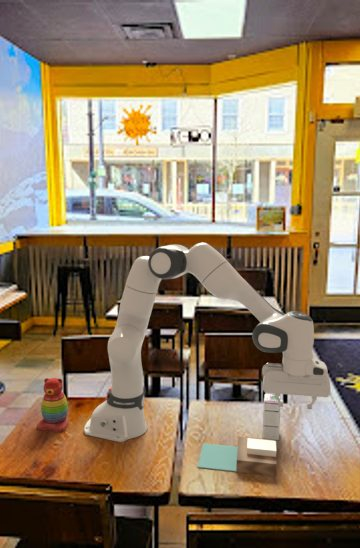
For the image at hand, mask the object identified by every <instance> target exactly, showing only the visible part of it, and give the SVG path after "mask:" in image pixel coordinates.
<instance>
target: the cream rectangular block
mask: <svg viewBox="0 0 360 548" xmlns="http://www.w3.org/2000/svg"><path fill="white" fill-rule="evenodd" d="M251 438H252V437H248V441H247V454H253V455H263V456H273V457H276V458H277V440H275V441H272V440H270V439H269V440H262V439H263V438H258V439H251Z"/></svg>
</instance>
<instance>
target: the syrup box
mask: <svg viewBox="0 0 360 548" xmlns="http://www.w3.org/2000/svg"><path fill="white" fill-rule="evenodd" d="M279 398H280V399H281V396H280V397H279ZM262 412H263V413H262V415H263V416H262V417H263V418H262V439H269V440H275V441H279V440H280V430H281V429H280V427H281V425H280V424H281V423H280V422H281V407H278V401H277V399H276V397H275V393H265V394H264V396H263V410H262Z"/></svg>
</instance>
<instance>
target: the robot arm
mask: <svg viewBox="0 0 360 548" xmlns="http://www.w3.org/2000/svg"><path fill="white" fill-rule="evenodd" d="M187 274H192V275H193V277H195V278H196V279H197V281H199V283H201V285H202V286H203V287H204V288H205V290H206V291H207V292H209V293H210V294H211V295H212V296H214V297H215V298H217V299H221V300H231V301H235V302H238V303H240V304H242V305H243V307H244V308H246V309H247V310H248V311H249V312H250V313H251V314H252V315H253V316H254V317H255V318H256V319H257V320H258V321H259V323H258V324H257V325H256V326H255V327H254V328H253V330H252V333H251V338H252V341H253V344H254V345H255V347H256V348H257V349H258V350H259V351H261V352H264V353H282V362H281V363H278V362H277V363H276V362H275V363H272V362H267V363H266V364H264V365H263V366H262V368H261V372H262V375H263V380H262V391H263V392H264V393H265V394H275V397H276V399H277V401H278V407H280V408H283V407H284V399H282V398H281V395H293V396H302V397H303V396H304V397H311V399H310V400H309V401H308V400H307V401H306V409H307V410H313V405H314V404H315V402H316V401H317V399H318V398H328V397H330V395H331V382H330V377H329V375H328V374H329V373H328V366H327V365H326V363H325V362H324V361H322V360H319V359H316V358H314V357H313V346H314V345H315V344H314V343H315V327H314V321H313V319H312V317H311V316H309V314H307V313H304V312H301V311H294V310H291V311H288V312H287V313H285V312H282V311H280V310H278V309H277V308H275V307H274V306H273V305H271V304H270V303H269V301H267V300H266V299H265V298H264V297H263V296H262V294H260V293H259V292H258V291H257V290H256V289H255V288H254V287H253V286H252V285H251V284H250V283H249V282H247V280H246V279H245V278H243V277H242V276H241V275H240V273H239V272H238V271H237V270H236V269H235V268H234V266H232V264H230V262H229V261H228V260H227V259H226V258H225V257H224V256H223V255H222V254H221V253H220V252H219V251H218V250H217V249H215V247H213V246H211V245H210V244H209V243H207V242H198V243H196V244H193V246H191V247H188V246H187V245H184V244H175V243H173V244H167V245H161V246H158V247H157V248H155V249H154V250H152V251H151V253H150V255H141V256H139V257H137V258H136V259H135V261H134V262H133V264H132V265H131V268H130V270H129V272H128V276H127V278H126V282H125V286H124V289H123V293H122V295H121V299H120V300H121V301H120V304H119V308H118V315H117V320H116V324H115V327H114V329H113V331H112V333H111V335H110V337H109V338H108V341H107V355H108V359H109V360H108V361H109V366H110V373H111V376H110V378H111V386H110V387H109V388H108V390H107V392H106V395H105V397H104V398H105V399H104V401H103V402H102V403H100V404H99V405H98V406H97V407H95V409H94V410H93V411H92V414H91V416H90V418H89V420H87V421H86V423H85V425H84V428H83V433H84V434H85V435H87V436H91V437H95V438H99V439H100V438H101V439H103V440H109V441H114V442H118V443H123V442H126V441H128V440H131V439H135V438H138V437H140V436H142V435H144V434H145V433H146V432H147V430H148V425H147V422H146V417H145V410H144V407H145V391H144V386H143V385H144V381H143V380H144V379H143V378H144V375H143V374H144V370H143V365H142V353H141V352H142V346H143V342H144V340H145V337H146V333H147V330H148V326H149V322H150V317H151V315H152V311H153V308H154V307H153V306H154V305H155V300H156V297H157V293H158V290H159V286H160V283H161V281H162V280H171V279H172V280H173V279H177V278H179V277H182V276H186V275H187ZM279 397H280V398H279Z"/></svg>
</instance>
